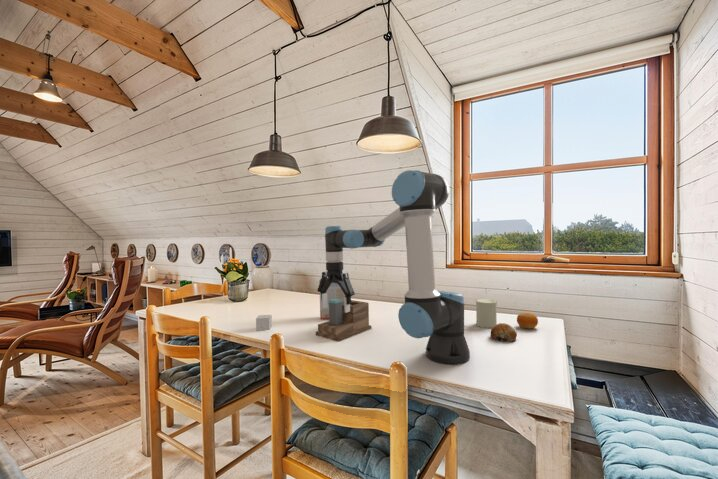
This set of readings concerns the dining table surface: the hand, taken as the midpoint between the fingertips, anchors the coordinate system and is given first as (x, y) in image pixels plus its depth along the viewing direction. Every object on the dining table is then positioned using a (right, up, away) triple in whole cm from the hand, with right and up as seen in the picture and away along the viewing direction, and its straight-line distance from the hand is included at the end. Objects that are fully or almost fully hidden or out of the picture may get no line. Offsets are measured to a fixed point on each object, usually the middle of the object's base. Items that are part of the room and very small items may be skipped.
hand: (335, 310), depth 143 cm
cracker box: (-3, -11, +30) cm, 32 cm away
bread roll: (+70, -10, -8) cm, 71 cm away
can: (+70, -10, +11) cm, 72 cm away
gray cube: (-35, -12, +12) cm, 39 cm away
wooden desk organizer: (+4, -11, +5) cm, 12 cm away
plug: (0, -10, 0) cm, 10 cm away
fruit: (+87, -10, +7) cm, 88 cm away
